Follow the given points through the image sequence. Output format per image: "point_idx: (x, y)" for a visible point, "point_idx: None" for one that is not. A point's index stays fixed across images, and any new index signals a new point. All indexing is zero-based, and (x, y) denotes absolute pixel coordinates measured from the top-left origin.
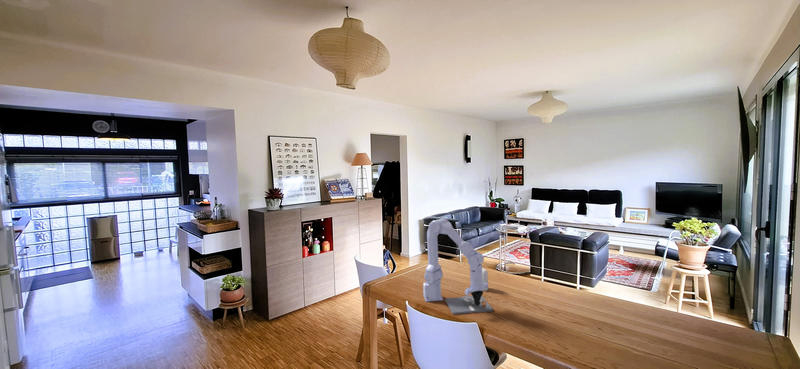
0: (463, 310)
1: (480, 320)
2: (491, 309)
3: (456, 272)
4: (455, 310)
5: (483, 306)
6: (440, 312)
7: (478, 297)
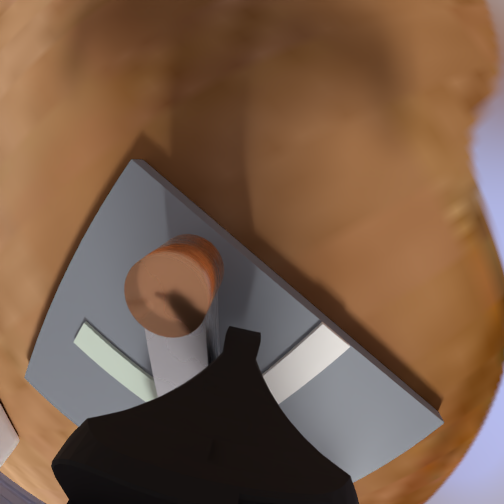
0: (380, 398)
1: (442, 170)
2: (150, 171)
3: (19, 484)
4: (405, 432)
5: (219, 259)
6: (430, 461)
7: (277, 421)
